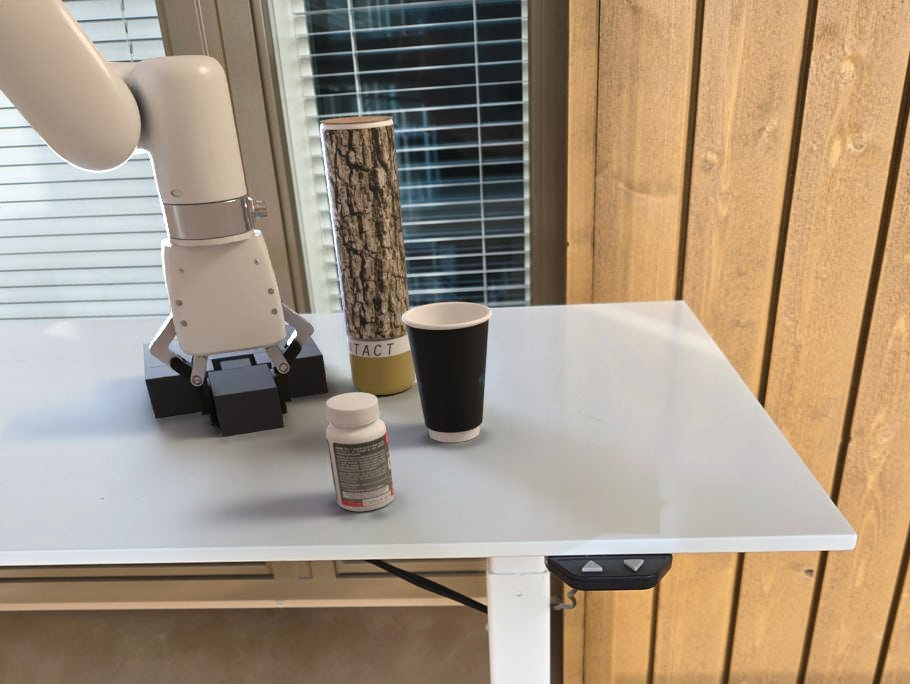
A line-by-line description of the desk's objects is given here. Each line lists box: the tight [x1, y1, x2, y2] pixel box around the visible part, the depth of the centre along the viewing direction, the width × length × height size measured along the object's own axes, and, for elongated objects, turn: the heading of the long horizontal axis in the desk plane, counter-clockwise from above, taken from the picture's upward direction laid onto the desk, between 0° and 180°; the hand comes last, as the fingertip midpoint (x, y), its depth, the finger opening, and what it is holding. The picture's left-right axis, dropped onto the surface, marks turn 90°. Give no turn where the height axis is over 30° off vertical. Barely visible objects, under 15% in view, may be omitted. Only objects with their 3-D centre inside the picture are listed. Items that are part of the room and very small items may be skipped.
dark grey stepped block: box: [208, 358, 285, 437], centre depth 90 cm, size 6×11×4 cm, turn 18°
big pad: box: [142, 323, 329, 419], centre depth 97 cm, size 18×14×4 cm
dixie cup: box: [402, 301, 493, 444], centre depth 81 cm, size 8×8×11 cm
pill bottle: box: [325, 391, 395, 513], centre depth 70 cm, size 5×5×8 cm
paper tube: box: [319, 115, 416, 396], centre depth 88 cm, size 7×7×25 cm
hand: (248, 413), depth 89 cm, fingers open, 6 cm apart
